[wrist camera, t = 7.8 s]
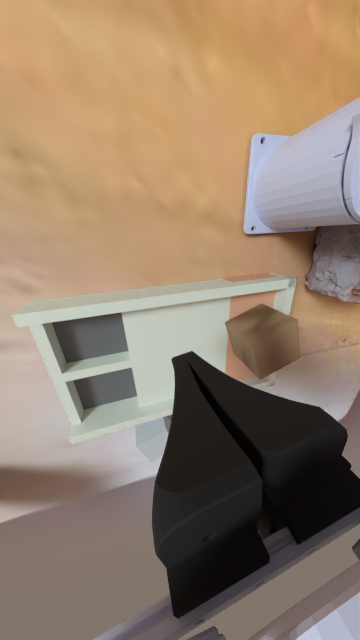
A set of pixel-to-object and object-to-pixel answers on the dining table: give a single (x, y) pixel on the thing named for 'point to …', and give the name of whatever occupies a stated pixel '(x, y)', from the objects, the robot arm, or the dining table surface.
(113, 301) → the tray
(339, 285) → the grey-brown rough block
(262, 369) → the walnut block
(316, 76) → the dining table surface
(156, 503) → the robot arm
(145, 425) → the grey block
